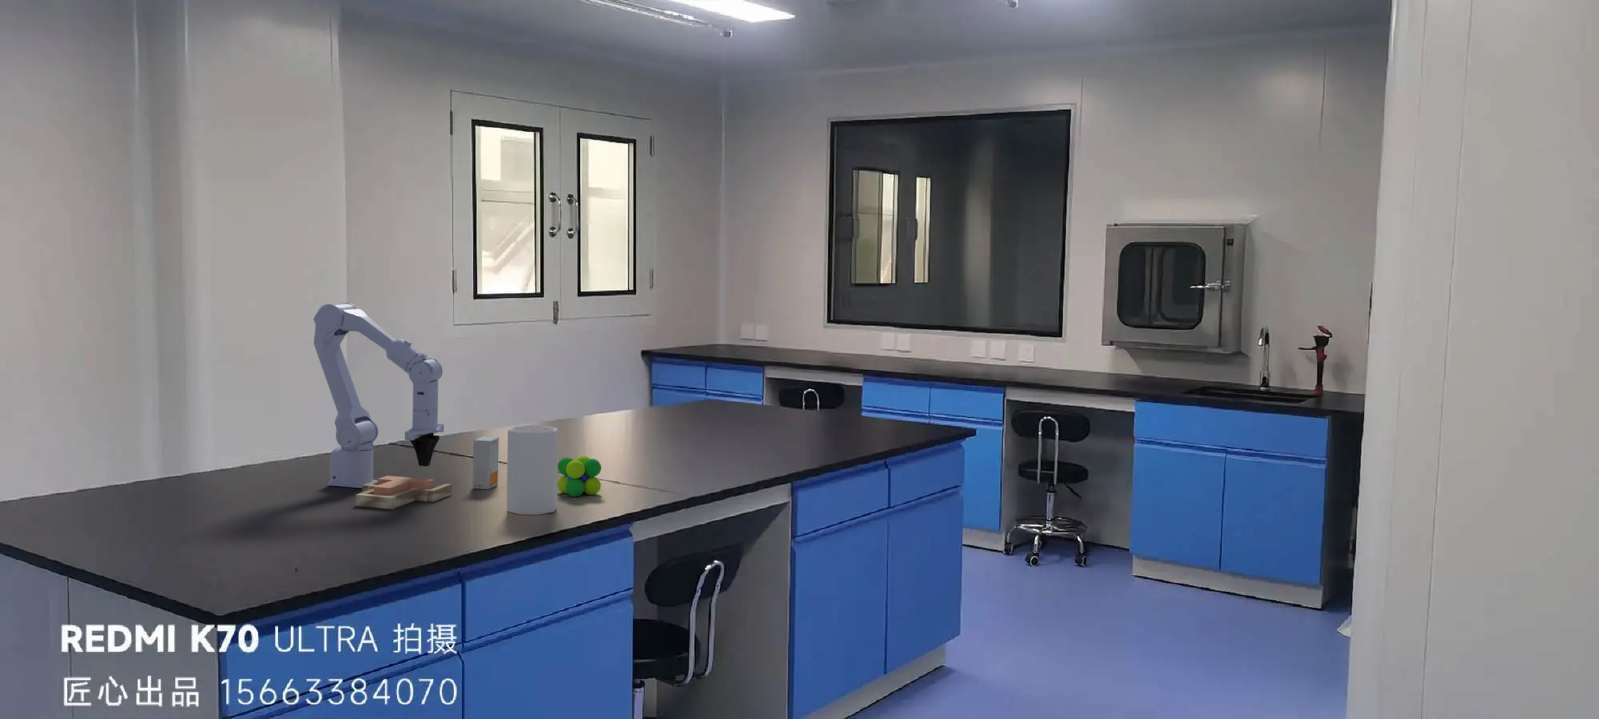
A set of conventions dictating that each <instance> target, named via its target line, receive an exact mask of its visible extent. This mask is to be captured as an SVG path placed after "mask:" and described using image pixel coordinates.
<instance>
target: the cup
mask: <svg viewBox="0 0 1599 719" xmlns="http://www.w3.org/2000/svg"><path fill="white" fill-rule="evenodd" d="M558 431H559V429H558V427H554V426H549V425H539V424H538V425H535V424H534V425H531V424H530V425H529V424H526V425H517V426H511V427H510V428H509V429H508V430H507V459H506V461H507V464H506V465H507V466H506V467H507V468H506V470H507V471H506V475H507V476H506V478H507V479H506V511H507V512H508V513H511V514H515V515H518V516H540V515H541V514H542V515H547V514H552V513H554V512H555V511H556V509H557V498H558V496H557V495H558V493H557V489H558V486H557V483H558V444H559V442H558V441H559V440H558V438H559V436H558V433H559V432H558ZM542 515H541V516H542Z"/></svg>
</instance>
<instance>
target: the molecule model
mask: <svg viewBox="0 0 1599 719" xmlns="http://www.w3.org/2000/svg"><path fill="white" fill-rule="evenodd" d="M557 471H558V472H559V474H561V475H562V476H560V477H559V479H557V489H558V491H560V492H561V493H563V494H568V495H569V496H571V497H574V498H577V497H580V496H581V495H582V494H583V493H585V494H587V495H589V496H593V495H596V494H598V493H599V492H600V490H601V487H602V484H601V482H600V480H599V478H597V476H598V475H599V474H600V473H601V471H602V464H601V463H600V461H599V460H598V459H595V458H591V457H589V456H586V455H580V456H578V457H577V458H576V459H574V458H572V457H570V456H566V457H565V456H564V457H562V458H561V459H559V461H558V462H557Z"/></svg>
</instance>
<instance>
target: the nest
mask: <svg viewBox="0 0 1599 719" xmlns="http://www.w3.org/2000/svg"><path fill="white" fill-rule="evenodd" d="M375 480H376V481H373V482H370V483H367V484H364V485H362V488H361V492H360V493H356V494H355V507H365V508H377V509H387V510H388V509H389V510H394V509H396V508H398V507H401V506H404V505H406V504H410V503H412V502H415V501H419V502H431V503H434V502H436V501H439V500H441V499H444V498H447V497H450V496H452V495H453V492H452V490H453V489H452V488H453V484H452V483H444V484H441V485H439V486H435V487H434V488H433V489H419V488H411V489H408V490H406V491H403V492H400V493H397V494H394V495H392V496H384V495H374V486H377V485H378V479H375Z"/></svg>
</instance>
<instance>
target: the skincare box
mask: <svg viewBox="0 0 1599 719" xmlns="http://www.w3.org/2000/svg"><path fill="white" fill-rule="evenodd" d="M499 442H500V437H495V436H482V437H478V438H477V439H474V440H473V454H472V459H473V461H472V489H476V490H477V489H480V490H489V489H491V488H494V487H496V486H498V484H499V450H500V449H499V444H500V443H499Z"/></svg>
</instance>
